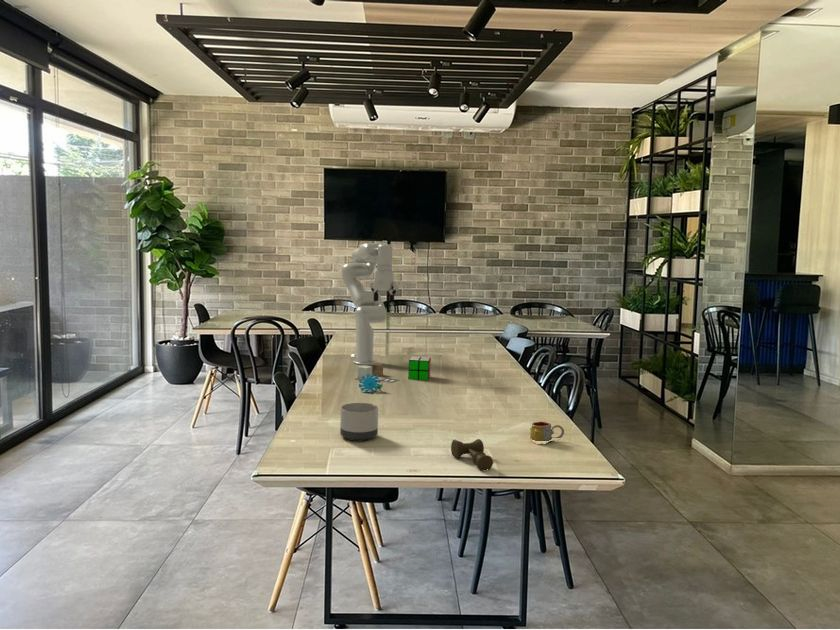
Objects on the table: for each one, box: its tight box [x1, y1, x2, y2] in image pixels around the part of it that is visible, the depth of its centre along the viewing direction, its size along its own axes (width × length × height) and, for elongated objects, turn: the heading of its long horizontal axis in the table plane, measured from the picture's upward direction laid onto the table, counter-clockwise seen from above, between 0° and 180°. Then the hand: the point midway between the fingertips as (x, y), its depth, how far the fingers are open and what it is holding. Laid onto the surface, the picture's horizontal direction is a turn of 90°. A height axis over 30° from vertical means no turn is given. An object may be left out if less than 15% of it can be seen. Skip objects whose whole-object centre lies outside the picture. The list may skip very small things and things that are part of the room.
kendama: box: [450, 438, 494, 471], centre depth 200 cm, size 6×10×20 cm
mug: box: [529, 421, 565, 441], centre depth 221 cm, size 12×7×7 cm, turn 96°
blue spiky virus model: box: [358, 374, 384, 394], centre depth 287 cm, size 11×6×10 cm
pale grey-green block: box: [357, 365, 372, 380], centre depth 310 cm, size 5×5×6 cm
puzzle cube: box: [407, 356, 432, 381], centre depth 317 cm, size 10×10×10 cm
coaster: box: [380, 377, 401, 384], centre depth 309 cm, size 8×8×1 cm
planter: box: [339, 402, 379, 441], centre depth 219 cm, size 13×13×10 cm
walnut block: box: [368, 362, 384, 377], centre depth 320 cm, size 5×5×6 cm
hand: (383, 301), depth 328 cm, fingers open, 9 cm apart
